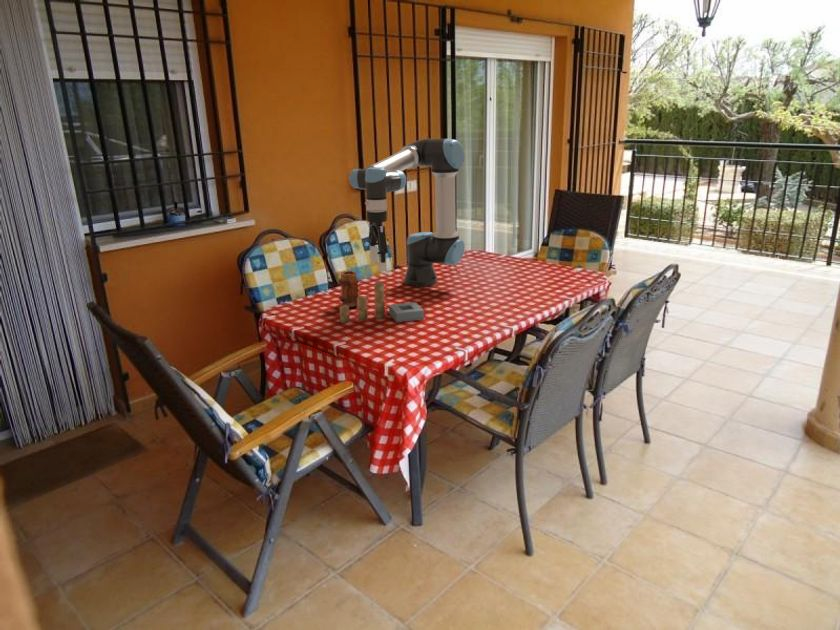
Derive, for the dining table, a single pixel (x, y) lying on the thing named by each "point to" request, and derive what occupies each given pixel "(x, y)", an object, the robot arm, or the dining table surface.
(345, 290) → the mug
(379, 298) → the dowel long
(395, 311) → the hole block
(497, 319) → the dining table surface
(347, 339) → the dining table surface
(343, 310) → the dowel short
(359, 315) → the dowel medium
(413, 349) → the dining table surface
